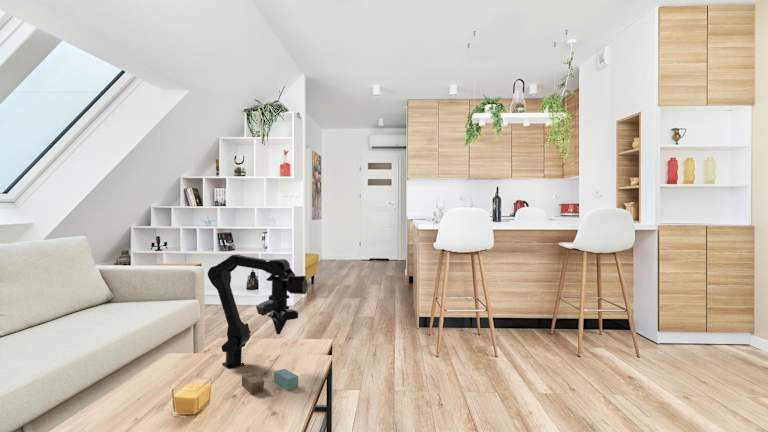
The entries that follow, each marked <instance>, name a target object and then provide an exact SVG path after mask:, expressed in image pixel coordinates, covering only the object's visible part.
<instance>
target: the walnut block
mask: <svg viewBox="0 0 768 432" xmlns="http://www.w3.org/2000/svg"><path fill="white" fill-rule="evenodd" d="M241 387H242V388H244V390H246V392H247V393H249V394H250V396H253V395H254V396H255V395H257V394H261V393H264V390H265V380H264V379H263V378H262V377H260V375H258V374H257V373H255V371H252V372H247V373H243V374H242V375H241Z"/></svg>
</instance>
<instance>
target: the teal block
mask: <svg viewBox="0 0 768 432" xmlns="http://www.w3.org/2000/svg"><path fill="white" fill-rule="evenodd" d="M273 383H274V384H276V385H277V386H279V387H280V388H282V389H284V390H285V391H291V390H294V389H298V388H299V375H297V374H295V373H293V372H292V371H289V370H288V369H286V368H283V369H279V370H275V371H274V372H273Z"/></svg>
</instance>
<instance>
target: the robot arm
mask: <svg viewBox="0 0 768 432" xmlns="http://www.w3.org/2000/svg"><path fill="white" fill-rule="evenodd" d="M237 267H242V268H249V269H250V268H251V269H255V270H261V271H264V272H265V273H267V274H269V275H270V276H269V277H268V278H266V281H268V282H271V294H270V295H269V296H268V299H267V300H265V301H263V302H260V303H259V304H257V305H256V306H255V308H256V312H257V314H258V315H261V316H267V317H269V318H270V319H271V320H272V324H273V326H274V329H275V333H276V335H280V334H282V331H283V328H284V326H285V325H286V323H287V321H289V320H296V319H298V318H299V312H298V311H297V310H295V309H292V308H291V309H290V306H288V299H290V295H289V294H294V295H306V294H307V292H308V288H309V285H308V284H309V283H308V280H307V276H306V275H296V274H295V273H294V271H293V269H292V268H291V266H290V262H289V261H288V260H287V259H284V258H280V259H279V258H277V259H275V258H274V259H265V258H259V257H253V256H248V255H241V254H239V253H238V254H232V255H230V256H229V257H227V258H226V259H224V260H223V261H221V262H220V263H218V264H217V265H214V266H211V267H210V268H209V269H208V271H207V278H208V279H209V281H210V283H211V285H212V286H213V287H214V288H215V289H216V290H217V293H218V297H219V299H220V304H221V306H222V310H223V313H224V316H225V320H226V322H227V330H226V331H227V332H226V338H227V341H225V342H224V343H223V344H222V345H221V346H220V348H221V351H222V353H225V362H222V363H221V365H222V364H223V365H222V366H224V367H225V368H227V369H228V370H230V368H231V369H234V367H235V368H238V367H237V366H239V367H241V366H240V365H244V364H245V363H244V362H243V361H242V356H243V355H242V353H243V352H242V350H243V348H244V347H245V346H246V344H247V343H248V341H249V340H250V338H251V333H252V331H251V330H250V326H249V323H248V322H246V323H244V322H243V321H242V320H241V316H240V314H239V310H238V308H237V304H236V301H235V296H234V294H233V290H232V287H231V282H232V272H233V271H234V270H236V268H237ZM288 293H289V294H288ZM241 362H242V363H241ZM244 366H245V365H244Z"/></svg>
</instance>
